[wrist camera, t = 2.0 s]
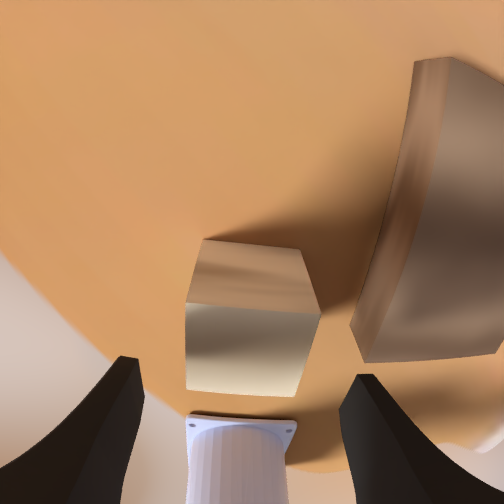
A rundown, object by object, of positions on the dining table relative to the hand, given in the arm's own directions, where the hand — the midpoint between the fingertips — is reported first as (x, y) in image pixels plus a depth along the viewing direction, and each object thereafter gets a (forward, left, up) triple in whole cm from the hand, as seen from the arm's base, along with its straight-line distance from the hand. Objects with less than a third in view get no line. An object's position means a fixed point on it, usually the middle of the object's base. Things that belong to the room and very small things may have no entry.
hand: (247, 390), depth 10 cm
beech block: (0, 0, -7) cm, 7 cm away
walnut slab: (+5, -11, -7) cm, 14 cm away
